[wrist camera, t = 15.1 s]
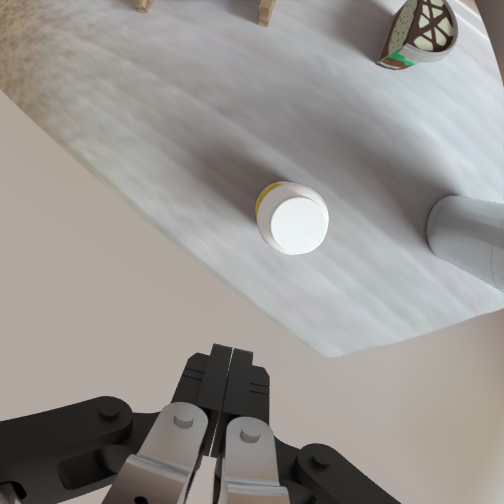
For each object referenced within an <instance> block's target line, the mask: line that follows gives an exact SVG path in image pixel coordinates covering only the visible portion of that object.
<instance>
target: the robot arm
mask: <svg viewBox="0 0 504 504" xmlns="http://www.w3.org/2000/svg"><path fill="white" fill-rule="evenodd" d="M426 234H427V240H428V244H429V246H430V248H431V250H432V251H433V253H434V254H435V255H436V256H438V257H440V258H441V259H443V260H445V261H447V262H449V263H451V264H453V265H454V266H456V267H458V268H460V269H462V270H464V271H466V272H468V273H470V274H471V275H473V276H475V277H477V278H479V279H481V280H483V281H484V282H486V283H488V284H490V285H492V286H493V287H495V288H497V289H499V290H501V291H502V292H504V204H499V203H494V202H489V201H483V200H478V199H473V198H467V197H461V196H455V195H451V196H446V197H444V198H442V199H441V200H439V201H438V202H437V203H436V204H435V205H434V207H433V208H432V210H431V212H430V214H429V217H428V221H427V227H426ZM231 353H232V347H227V346H223V345H219V344H213V347H212V351H211V354H210V356H209V355H205V354H201V353H196V354H194V355H193V356H191V357H190V358H189V359H188V361H187V364H186V366H185V369H184V371H183V373H182V376H181V378H180V381H179V383H178V386H177V388H176V391H175V393H174V396H173V398H172V401H171V403H170V404H168V405H167V406H165V407H164V408H163V409H162V410H161V411H160V412H156V413H133V412H132V410H131V408H130V406H129V405H128V404H127V403H126V402H124V401H122V400H121V399H118V398H115V397H110V396H101V397H97V398H94V399H90V400H87V401H83V402H80V403H76V404H72V405H68V406H65V407H61V408H57V409H53V410H49V411H45V412H41V413H37V414H32V415H28V416H24V417H19V418H15V419H10V420H5V421H0V504H57V503H60V502H63V501H66V500H69V499H73V498H75V497H78V496H81V495H84V494H87V493H90V492H92V491H95V490H98V489H100V488H103V487H105V486H108V485H111V484H112V486H111V488H110V489H109V491H108V493H107V495H106V497H105V498H104V500H103V502H102V503H101V504H186V502H187V499H188V497H189V494H190V491H191V488H192V485H193V482H194V479H195V476H196V473H197V470H198V469H199V467H200V465H201V461H202V457H203V455H204V456H209V452H210V448H211V444H212V440H213V436H214V433H215V437H214V442H213V447H212V452H211V457H214V458H217V461H216V466H215V470H214V474H213V479H212V492H211V504H401V503H400V502H398V501H397V500H396V499H394V498H393V497H392V496H391V495H389V494H388V493H386V491H384V490H383V489H382V488H380V487H379V486H378V485H377V484H375V483H374V482H373V481H372V480H370V479H369V478H368V477H367V476H366V475H364V474H363V473H362V472H361V471H360V470H358V469H357V468H356V467H355V466H353V465H352V464H351V463H350V462H349V461H348V460H346V459H345V458H344V457H343V456H342V455H341V454H339V453H338V452H337V451H336V450H335V449H333V448H331V447H330V446H327V445H324V444H317V443H315V444H308V445H306V446H304V447H303V448H302V449H301V450H300V449H298V448H295V447H292V446H289V445H287V444H285V443H283V442H281V441H280V440H278V439H277V438H276V437H275V436H274V434H273V431H272V429H271V428H270V427H269V386H270V383H269V382H270V379H269V378H270V377H269V375H268V373H267V372H266V370H265V369H264V368H263V367H258V366H253V365H252V360H253V352H250V351H245V350H241V349H236V348H234V351H233V354H232V359H231V363H230V358H231ZM229 363H230V367H229ZM228 368H229V371H228ZM227 373H228V375H227ZM226 378H227V379H226ZM217 421H218V422H217ZM216 425H217V427H216ZM215 429H216V432H215Z"/></svg>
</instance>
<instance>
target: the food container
mask: <svg viewBox="0 0 504 504" xmlns="http://www.w3.org/2000/svg"><path fill="white" fill-rule="evenodd" d="M457 38H458V24H457V20H456V17H455V14H454V12H453V10H452V8H451V7H450V5H449V4H448V2H447V1H446V0H407V1H406V3H405V4H404V5H403V6H402V7H401V8H400V9H399V10H398V11H397V13H396V14H395V15H394V16H393V18H392V21H391V24H390V27H389V30H388V33H387V35H386V38H385V41H384V44H383V47H382V49H381V52H380V55H379V58H378V60H377V63H376V64H377V65H379V66H381V67H383V68H388V69H392V70H399V69H405V68H407V67H410V66H412V65H415V64H417V63H420V62H426V63H430V62H436V61H440V60H442V59H443V58H445V57H446V56H447V55H448V54H449V53H450V52H451V50H452V49H453V48H454V46H455V44H456V41H457Z"/></svg>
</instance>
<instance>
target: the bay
mask: <svg viewBox="0 0 504 504" xmlns="http://www.w3.org/2000/svg"><path fill="white" fill-rule="evenodd" d="M131 1H132V2H133V4H134V5H135V6H136V8H137V9H138V10H139V12H143V13H148V11H149V9H150V6H151V4H152V2H153V0H131ZM274 3H275V0H261V2H260V5H259V15H258V25H261V26H266V27H268V23H269V20H270V17H271V13H272V10H273V7H274Z"/></svg>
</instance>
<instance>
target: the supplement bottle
mask: <svg viewBox="0 0 504 504" xmlns="http://www.w3.org/2000/svg"><path fill="white" fill-rule="evenodd" d="M255 214H256V220H257V226H258V230H259V232H260V235H261V237H262V238H263V240H264V241H265V242H266V243H267V244H268V245H269V246H270V247H271V248H272V249H274V250H276V251H278V252H280V253H283V254H288V255H297V254H302V253H307V252H309V251H312V250H313V249H315V248H316V247H317V246H318V245H319V244H320V243H321V242H322V240H323V239H324V237H325V234H326V231H327V228H328V219H329V217H328V210H327V207H326V204H325V202H324V200H323V199H322V198H321V196H320V195H319V194H318V193H317V192H316V191H315V190H313V189H312V188H310V187H308V186H306V185H302V184H298V183H293V182H287V181H279V182H275V183H272V184H270V185H268V186H267V187H266V188H264V189H263V190H262V192H261V193H260V194H259V196H258V198H257V201H256V205H255Z"/></svg>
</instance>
